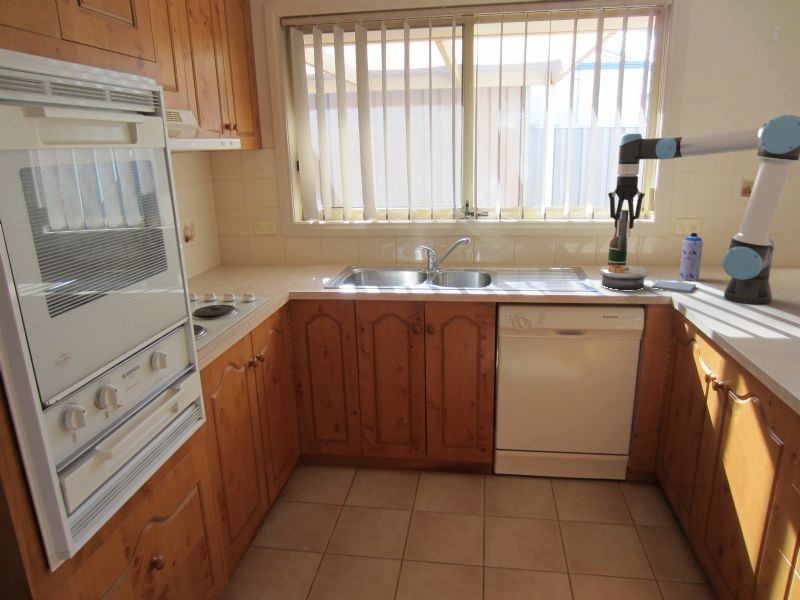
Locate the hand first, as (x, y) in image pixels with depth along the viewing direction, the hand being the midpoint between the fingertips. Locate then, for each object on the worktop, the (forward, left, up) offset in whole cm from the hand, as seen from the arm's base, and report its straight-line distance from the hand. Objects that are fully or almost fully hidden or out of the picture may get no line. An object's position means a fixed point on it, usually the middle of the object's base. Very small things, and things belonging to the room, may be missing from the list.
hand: (623, 236), depth 221 cm
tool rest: (-18, -14, -22) cm, 31 cm away
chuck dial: (0, -6, -16) cm, 17 cm away
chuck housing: (0, -6, -22) cm, 22 cm away
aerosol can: (-20, -35, -22) cm, 46 cm away
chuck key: (0, 0, -6) cm, 6 cm away
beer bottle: (+11, -37, -22) cm, 44 cm away
